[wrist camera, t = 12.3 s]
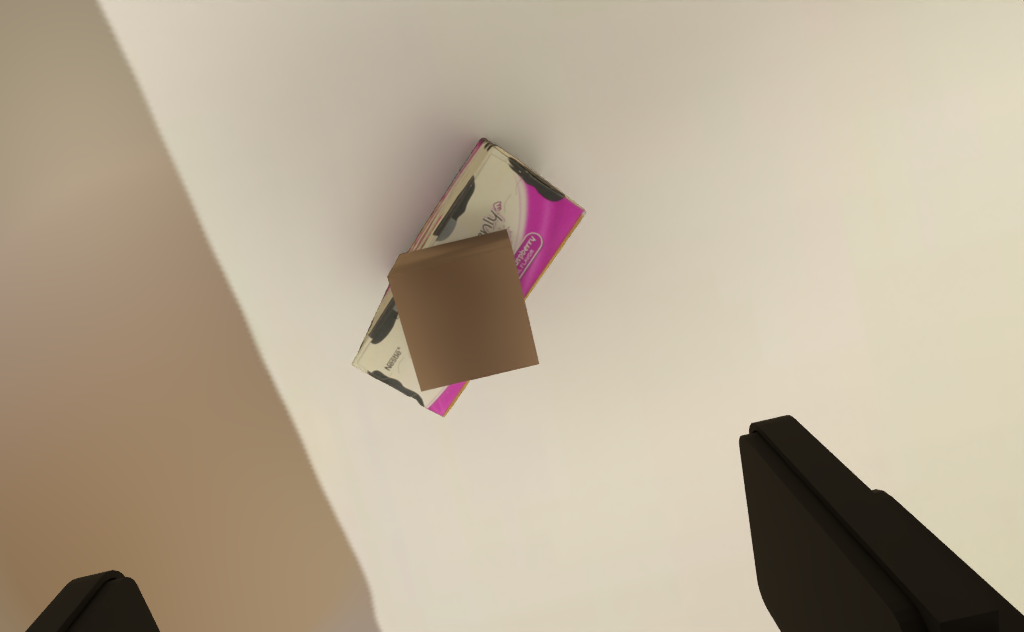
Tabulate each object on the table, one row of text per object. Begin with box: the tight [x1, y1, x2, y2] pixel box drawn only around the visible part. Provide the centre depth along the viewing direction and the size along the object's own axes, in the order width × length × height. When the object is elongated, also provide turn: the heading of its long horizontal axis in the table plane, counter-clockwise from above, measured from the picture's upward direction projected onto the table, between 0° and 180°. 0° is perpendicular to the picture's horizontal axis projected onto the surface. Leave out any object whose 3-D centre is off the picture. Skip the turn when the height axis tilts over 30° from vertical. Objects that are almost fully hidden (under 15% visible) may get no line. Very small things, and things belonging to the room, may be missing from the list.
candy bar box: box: [352, 138, 586, 417], centre depth 34 cm, size 11×5×16 cm, turn 146°
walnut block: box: [388, 229, 539, 392], centre depth 25 cm, size 4×4×4 cm
